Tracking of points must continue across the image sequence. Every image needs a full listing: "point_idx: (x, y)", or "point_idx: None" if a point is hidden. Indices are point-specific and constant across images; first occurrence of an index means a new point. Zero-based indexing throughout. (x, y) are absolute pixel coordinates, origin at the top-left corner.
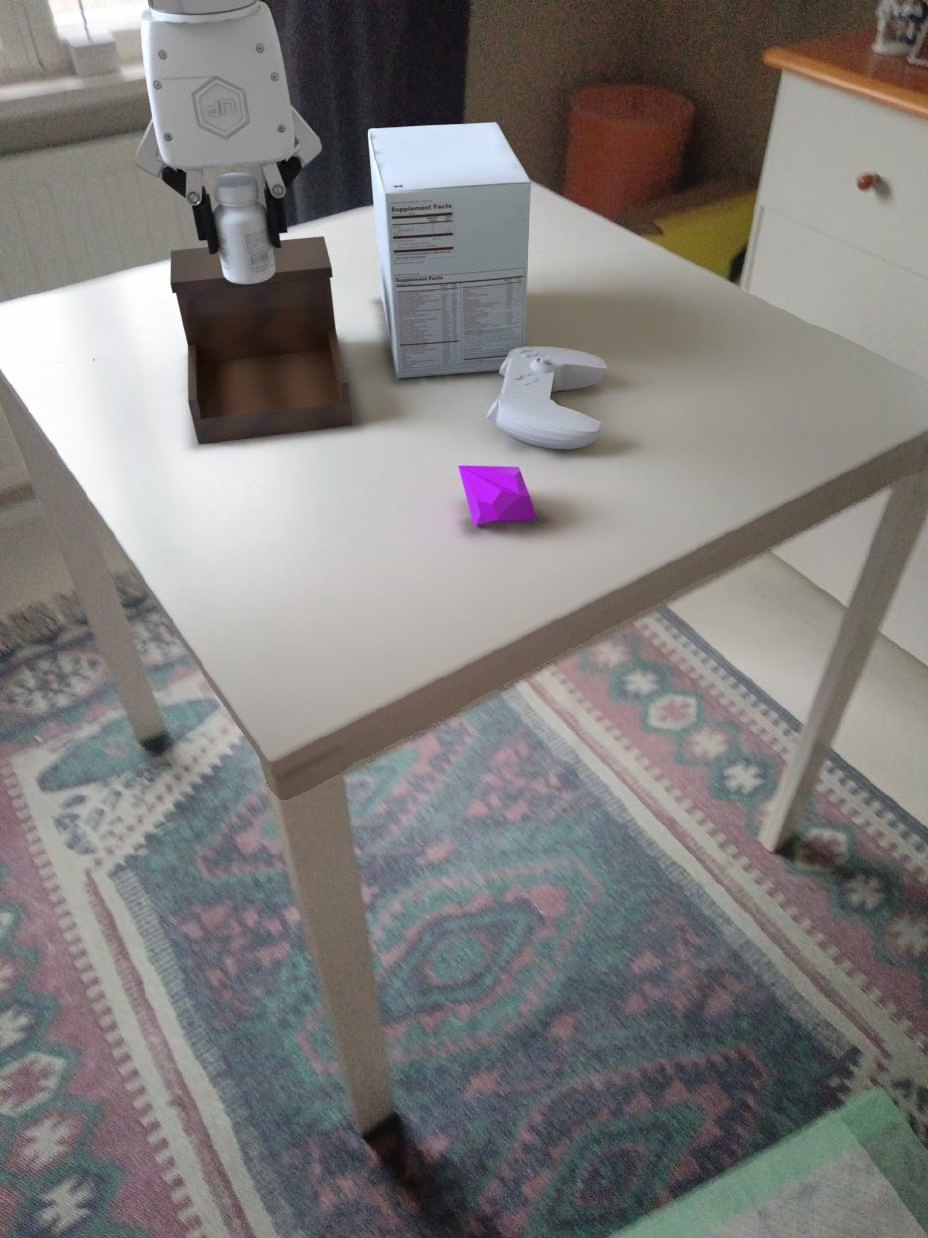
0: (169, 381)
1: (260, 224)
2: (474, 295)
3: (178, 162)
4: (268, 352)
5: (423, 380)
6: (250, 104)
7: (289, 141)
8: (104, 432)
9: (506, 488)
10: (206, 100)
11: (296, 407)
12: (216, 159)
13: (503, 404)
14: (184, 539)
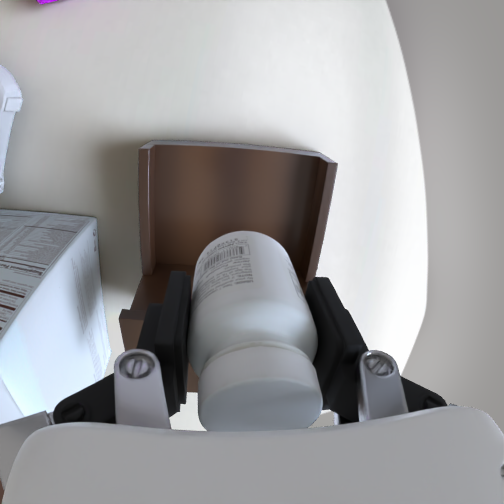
0: (324, 273)
1: (208, 305)
2: None
3: (469, 414)
4: None
5: (73, 211)
6: None
7: (19, 466)
8: (393, 205)
9: None
10: None
11: (209, 147)
12: (355, 445)
13: (2, 92)
14: (351, 10)
